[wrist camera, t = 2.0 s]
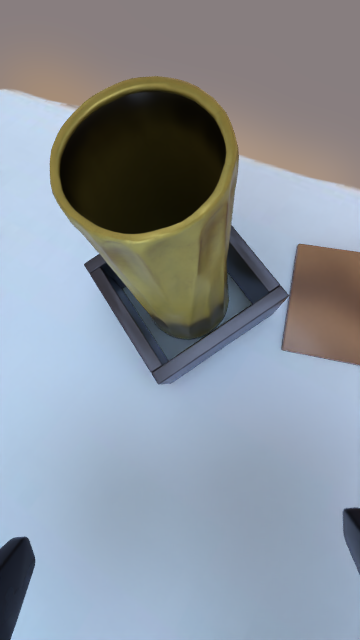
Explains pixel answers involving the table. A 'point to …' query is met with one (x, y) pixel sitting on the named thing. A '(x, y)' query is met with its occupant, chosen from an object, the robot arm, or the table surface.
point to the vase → (154, 194)
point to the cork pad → (324, 304)
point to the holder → (264, 303)
